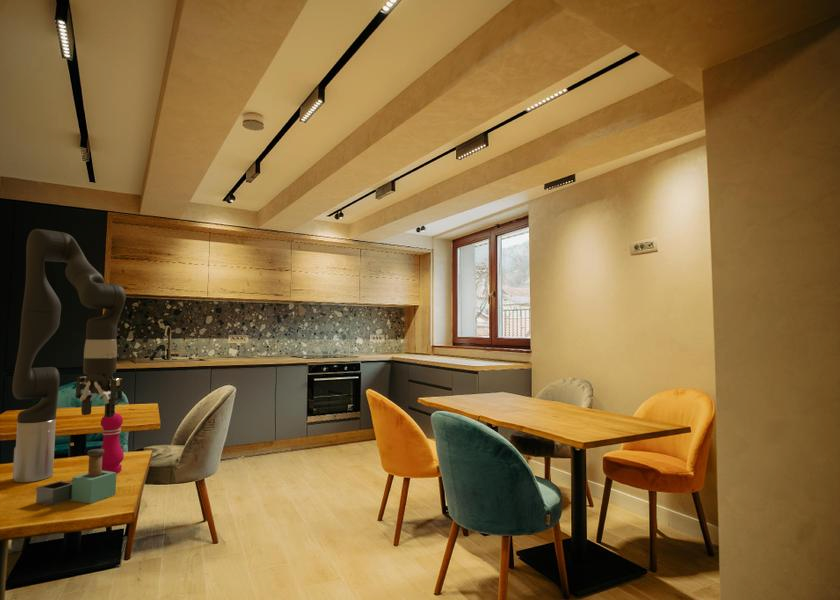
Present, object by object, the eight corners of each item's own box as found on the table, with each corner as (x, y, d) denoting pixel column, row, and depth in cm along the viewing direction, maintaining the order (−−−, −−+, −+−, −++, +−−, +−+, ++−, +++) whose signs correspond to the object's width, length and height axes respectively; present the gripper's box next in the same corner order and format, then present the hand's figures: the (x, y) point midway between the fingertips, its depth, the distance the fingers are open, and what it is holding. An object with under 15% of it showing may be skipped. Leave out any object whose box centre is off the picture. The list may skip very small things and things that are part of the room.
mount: (36, 503, 124) (36, 487, 125) (59, 495, 130) (60, 480, 130) (52, 506, 122) (53, 490, 123) (75, 498, 128) (76, 483, 128)
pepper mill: (109, 476, 147) (112, 410, 148) (90, 475, 148) (93, 409, 150) (128, 469, 154) (131, 406, 155) (109, 468, 155) (112, 406, 157)
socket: (71, 500, 126) (72, 477, 127) (96, 491, 133) (97, 469, 133) (90, 503, 124) (91, 480, 125) (115, 494, 131) (116, 472, 131)
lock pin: (81, 499, 127) (84, 451, 128) (95, 494, 131) (97, 448, 132) (92, 500, 126) (94, 452, 127) (105, 496, 130) (107, 449, 131)
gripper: (68, 356, 130) (64, 416, 129) (106, 357, 125) (103, 420, 124) (94, 354, 137) (92, 412, 136) (132, 356, 132) (129, 415, 131)
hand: (97, 415), depth 130 cm, fingers open, 8 cm apart
